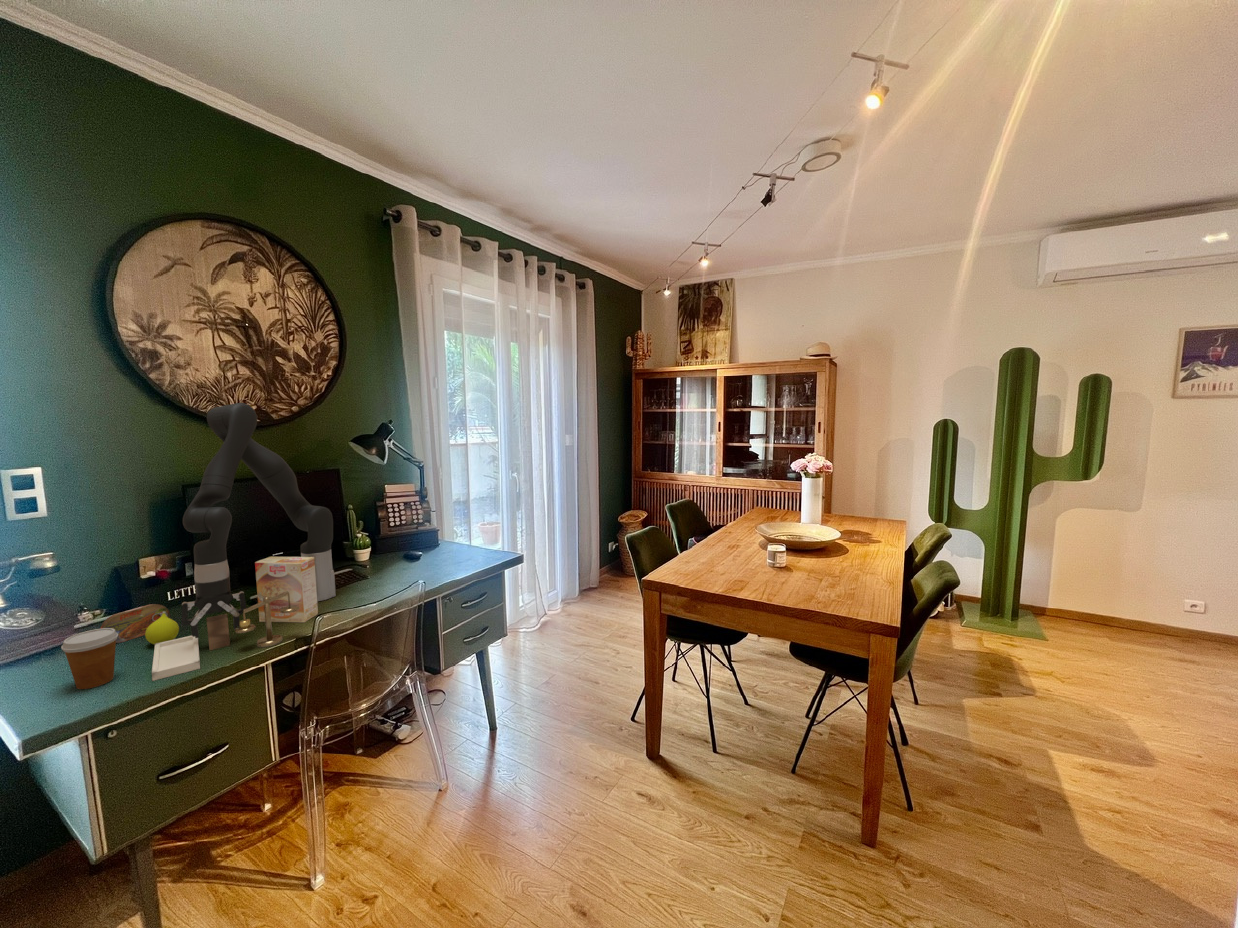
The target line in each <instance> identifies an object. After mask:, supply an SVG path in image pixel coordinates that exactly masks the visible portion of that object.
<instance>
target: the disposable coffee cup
mask: <svg viewBox="0 0 1238 928" xmlns="http://www.w3.org/2000/svg"><path fill="white" fill-rule="evenodd" d="M117 637H118V633H116V631H115V629H112V628H102V629H101V628H96V629H90V630H87V631H83V632H79V633H76V634H73V635H70V636H69V637H67V638H65V639H64V640H63V643H62V645H61V646H60V649H61V650H62V651H63V652H64V653H65V656H66V659H67V662H68V667H69V669H70V673H71V675H72V678H73V681H74V683H75V686H76V687H75V688H76V689H77V690H88V689H93V688H96V687H100V686H103V685H104V684H108V683H110V682H111V681H112V680H113V679H114V675H115V659H116V646H117V643H116V639H117Z"/></svg>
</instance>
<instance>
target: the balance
mask: <svg viewBox="0 0 1238 928" xmlns="http://www.w3.org/2000/svg"><path fill="white" fill-rule="evenodd" d="M286 595H288V603H289V606H286V607H283V608H281V609H280V612H281V613H291V612H294V611H297V610H298V609H299V606H298V605H290V594H289V592H288V591H286V592H284V593H282V594H279V595H277V596H274V597H272V598H269V597H265V598H264V599H263V602H260V603H258V602H257V603H256V604H253V605H251V606H249V607H247V608H246V609H244V610H243V611H244V612H243V614H242V616H243V619H242V620H240V622H239V623H240V626H239V627H237V628H236V629H235V630H234V632H235V634H245V633H249V632H253V631H254V630H256V624H254V623H251V619H250V618H246V613H249V612H251V611H253V610H256V609H259V608H258V607H261V606H263V605H264V611H265V622H264V624H265V635H266V636H264V637H261V638H259V639H258V640H257V641H256V646H257V648H261V649H262V648H270V647H274V646H277V645H279V644H280V643H282V642H283V635H281V634H273V626H272V623H273V622H271V610H270V602H272V601H275V600H277V599H279V598H282V597H284V596H286Z"/></svg>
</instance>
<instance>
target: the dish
mask: <svg viewBox="0 0 1238 928" xmlns="http://www.w3.org/2000/svg"><path fill="white" fill-rule="evenodd" d="M151 667H152V668H151V680H152V682H154V681H157V680H161V679H164V678H165V679H166V678H169V677H173V676H177V675H181V674H184V673H188V672H192V671H195V670H200V669H201V660H200V648H199V638H195V636H194V637H193V636H192V635H187V636H184V637H179V638H174V639H173V640H170V641H165V642H161V643H156V644H154V651H153V658H152V666H151Z"/></svg>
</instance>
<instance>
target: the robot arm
mask: <svg viewBox="0 0 1238 928" xmlns="http://www.w3.org/2000/svg"><path fill="white" fill-rule="evenodd" d="M206 421H207V425H208V426H209V428H210V429H211V430H212V432H213V433H214V434H215V436H217V437H218V438H219V439H220V440H221V441H222V442H223V443H222V445H221V447H220V448H219V450H218V451H217V452H216V454H215V455H214V456H213V457H212V459H211V460H210V462H208V464H207V466H206V467H205V469H204V472H203V476H202V479H201V483H200V486H199V490H198V492H197V493H196V494H195V496H194V497H193V499H192V501H191V502H190V504H189V505H188V507H187V508H186V510H185V511H184V514H183V517H182V525H183V527H184V529H185V530H186V531H187V532H190V533H195V534H196V533H200V534H201V533H210V537H209V539H204V540H200V541H198V542H196V543H195V544H194V546H193V560H194V570H193V577H194V579H193V580H194V586H195V587H194V588H195V600H193V601H186V600H185V601H183V602H182V603H181V625H182V626H190V627H191V628H190V629H191V630H190V631H191V632H190V633H191V636H193V637H194V636H195V638H198V639H199V635H200V634H199V627H198V626H199V625H198V622H200V620H201V619H202V618H203V617H204V615H211V614H214V613H221V612H223V611H226V612H228V613H229V614H231V615H232V619H233V620H232V621H233V630H234V631H235V629H236V628H237V627H240V623H239V622H240V621H241V620H240V619H241V618H240V616H241V615H243V612H244V611H243V610H244V609H246V608H248V607H247V602H246V594H245V592H244V590H241V591H238V592H237V593H232V591H231V582H230V568H229V563H228V562H229V561H228V557H227V555H228V554H227V542H228V538H229V533H230V531H231V527H232V524H233V522H232V521H233V517H232V513H231V512H230V510H229V509H228V508H226V507H223V506H213V505H214V504H217V503H220V502H225V501H227V500H228V499H229V498H230V496H231V493H232V489H233V486H234V481H235V476H236V474H237V471H238V469H239V465H240V462H241V461H242V462H243V463H244V464H245V465H246V467H248V469H249V470H250V471H251V472H252V473H253V474H254V476H255V477H256V479H258V481H259V482H260V483H261V484H262V485H263V487H264V488H265V489H266V490H268V492H269V493H270V494H271V495H272V497H273V498H274V499H275V500H276V501H277V502H278V503H279V504H280V505H281V507H282V508H283V509H284V511H285V512H286V514H287V516H288V518H289V519H290V521H292V523H293V525H294V526H295V527H296V528H297V529H299V530H300V531H302V532H307V539H306V541H305V542H303V543H302V544H300V557H314V563H315V577H316V592H317V602H323V601H326V600H329V599H331V598H334V597H336V579H335V570H334V568H333V558H332V556H333V555H332V543H333V540H334V518H333V513H332V511H331V510H330V508H328V507H325V506H320V505H312V504H311V503H310V502H309V501H308V500H306V498H305V497H304V496H303V494H302V493H301V492H300V489H299V486H298V485H299V484H298V481H297V480H298V479H297V476H296V474H295V472H294V470H293V469H292V468H291V467H290V466H289V464H288V463H287V462H286V461H285V460H284V458H283V457H281V456H280V455H279V454H277V453H276V452H274V451H272V450H270V449H269V448H267V447H265V446H264V445H261V444H260V443H258V442H257V441H255V440H254V439H253V438H252V436H253V434H254V432H255V430H256V428H257V424H258V415H257V412H256V410H255V409H254V408H253V407H252V406H251V405H250V404H247V403H243V402H239V403H238V402H237V403H231V404H226V405H220V406H217V407H212V408H211V409H209V411H208V412H207V414H206ZM234 599H236V602H237V601H239V604H240V605H239V606H240V608H239V609H237V608H235V607H234V606H233V605H232V604H231V603H232V601H233V600H234ZM193 607H195V608H196V609H198V610H197V611H196V613H195V614H194V616H193V617H192V618H188V611H190V610H192V608H193Z"/></svg>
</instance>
